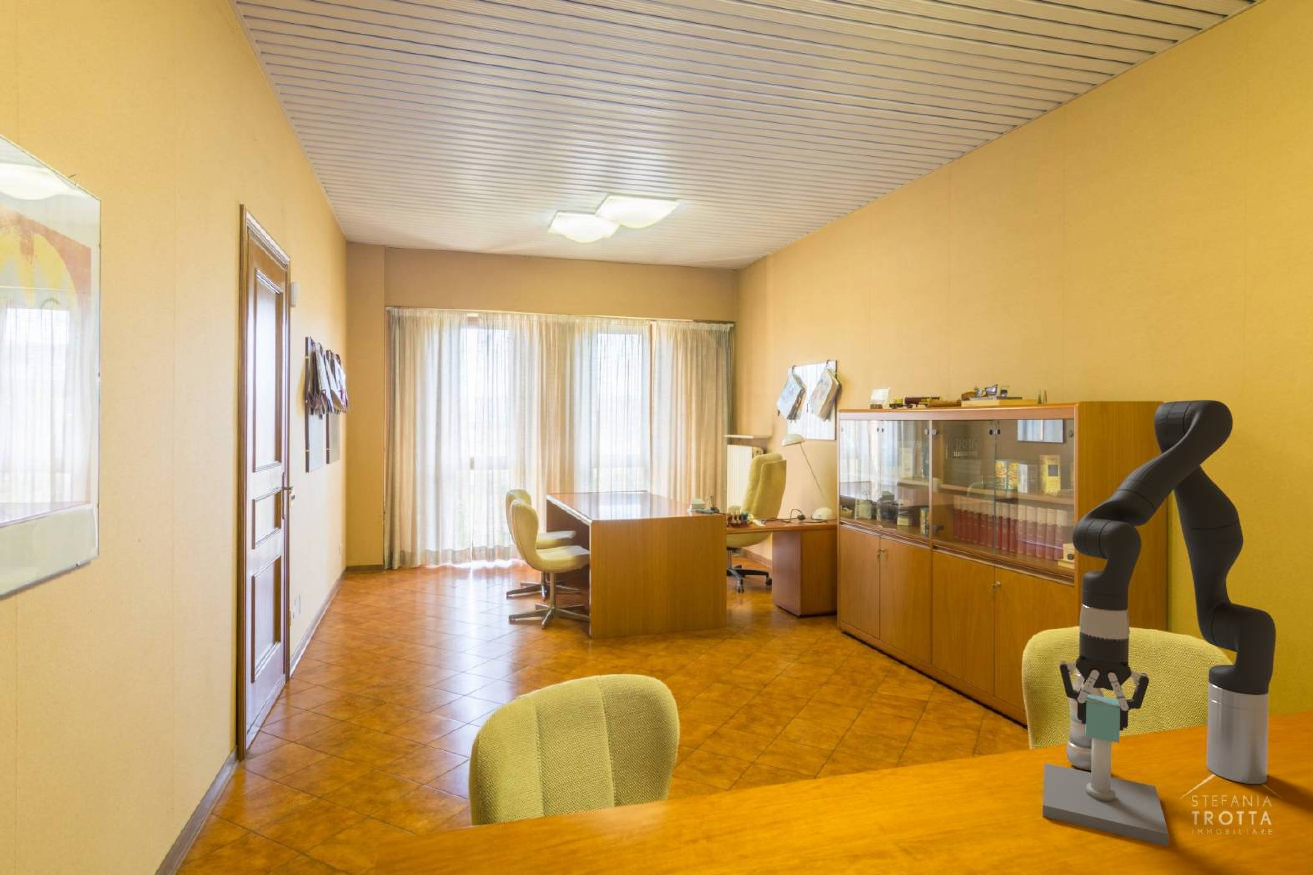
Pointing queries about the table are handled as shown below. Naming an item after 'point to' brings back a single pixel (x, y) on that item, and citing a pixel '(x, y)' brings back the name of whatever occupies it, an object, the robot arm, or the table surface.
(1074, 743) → the plastic bottle
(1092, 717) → the teal cube
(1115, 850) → the table surface
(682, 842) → the table surface
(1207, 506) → the robot arm
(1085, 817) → the post stand
